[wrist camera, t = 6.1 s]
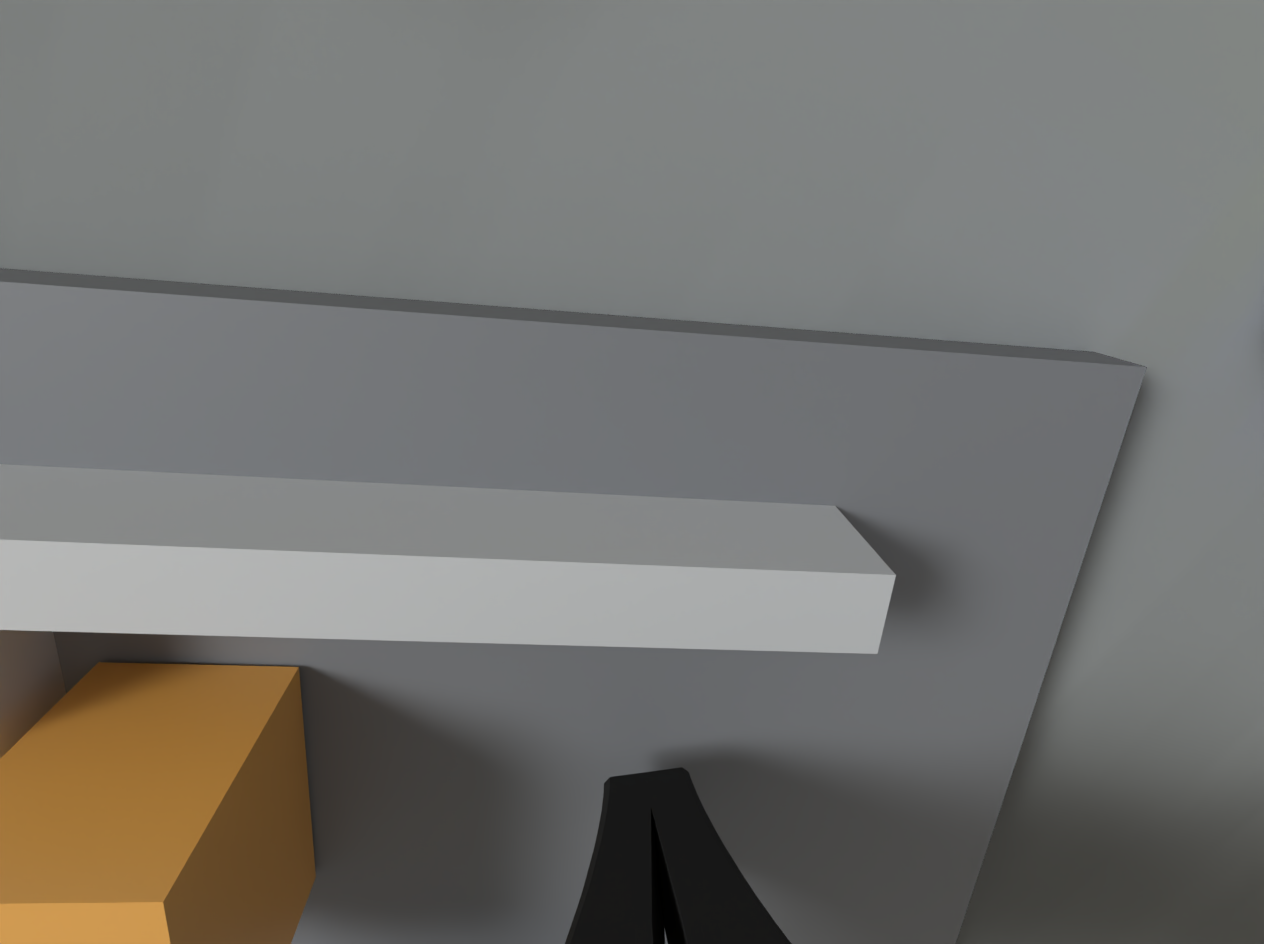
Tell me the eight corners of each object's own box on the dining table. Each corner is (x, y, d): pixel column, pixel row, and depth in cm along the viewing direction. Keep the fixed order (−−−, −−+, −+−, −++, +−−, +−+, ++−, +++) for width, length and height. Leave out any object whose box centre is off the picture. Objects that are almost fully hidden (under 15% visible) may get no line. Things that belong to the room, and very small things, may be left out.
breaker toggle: (299, 666, 12) (162, 902, 8) (316, 876, 13) (208, 1161, 9) (99, 661, 11) (-149, 904, 7) (139, 877, 13) (-47, 1173, 9)
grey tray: (1094, 351, 12) (1284, 406, 9) (895, 1003, 18) (970, 1184, 14) (-73, 262, 10) (-367, 290, 7) (105, 1024, 16) (-15, 1238, 13)
